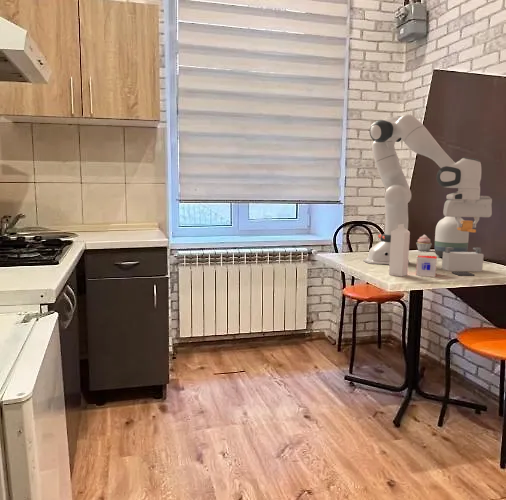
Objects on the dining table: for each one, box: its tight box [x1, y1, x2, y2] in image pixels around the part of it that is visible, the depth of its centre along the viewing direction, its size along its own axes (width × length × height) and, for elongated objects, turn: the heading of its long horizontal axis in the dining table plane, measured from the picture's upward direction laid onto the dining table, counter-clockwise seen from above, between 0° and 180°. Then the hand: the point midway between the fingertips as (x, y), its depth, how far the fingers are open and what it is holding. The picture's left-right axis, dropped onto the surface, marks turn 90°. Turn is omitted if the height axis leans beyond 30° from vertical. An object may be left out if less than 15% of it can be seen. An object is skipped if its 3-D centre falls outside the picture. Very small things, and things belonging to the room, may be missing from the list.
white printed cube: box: [415, 254, 438, 277], centre depth 217 cm, size 8×8×8 cm
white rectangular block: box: [441, 247, 484, 272], centre depth 231 cm, size 16×7×10 cm, turn 92°
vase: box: [434, 216, 470, 258], centre depth 270 cm, size 17×17×24 cm
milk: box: [388, 224, 411, 277], centre depth 214 cm, size 6×6×22 cm
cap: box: [457, 219, 477, 233], centre depth 216 cm, size 13×5×4 cm, turn 5°
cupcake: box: [415, 234, 433, 252], centre depth 298 cm, size 9×9×10 cm
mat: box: [451, 271, 475, 277], centre depth 219 cm, size 7×7×1 cm
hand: (466, 227), depth 216 cm, fingers closed on cap, 5 cm apart
